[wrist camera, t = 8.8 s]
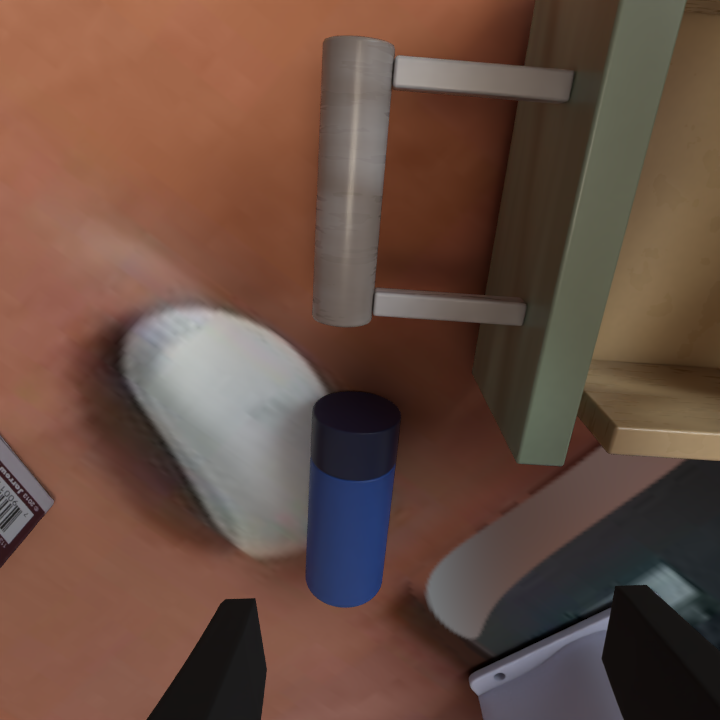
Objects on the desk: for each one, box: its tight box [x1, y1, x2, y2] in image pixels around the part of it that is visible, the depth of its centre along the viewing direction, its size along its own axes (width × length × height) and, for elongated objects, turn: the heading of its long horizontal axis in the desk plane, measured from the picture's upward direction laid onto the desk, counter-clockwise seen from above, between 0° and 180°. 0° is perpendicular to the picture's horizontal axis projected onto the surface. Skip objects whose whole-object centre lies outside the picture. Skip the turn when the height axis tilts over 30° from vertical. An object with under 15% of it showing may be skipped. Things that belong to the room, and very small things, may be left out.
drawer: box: [312, 0, 720, 466], centre depth 13 cm, size 18×12×6 cm, turn 86°
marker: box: [306, 391, 401, 608], centre depth 19 cm, size 8×3×3 cm
